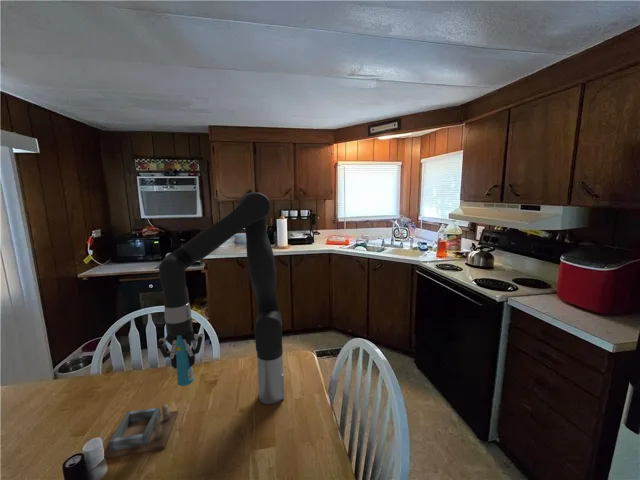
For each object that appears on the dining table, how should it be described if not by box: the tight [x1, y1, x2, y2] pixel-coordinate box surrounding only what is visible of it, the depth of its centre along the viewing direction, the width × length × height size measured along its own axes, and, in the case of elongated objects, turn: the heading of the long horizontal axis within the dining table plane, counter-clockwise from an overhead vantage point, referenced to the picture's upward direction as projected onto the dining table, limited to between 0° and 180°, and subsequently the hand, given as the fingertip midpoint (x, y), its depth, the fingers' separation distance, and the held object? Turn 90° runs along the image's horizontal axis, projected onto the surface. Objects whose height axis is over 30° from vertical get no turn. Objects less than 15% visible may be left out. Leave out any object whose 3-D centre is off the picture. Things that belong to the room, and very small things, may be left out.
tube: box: [176, 335, 195, 387], centre depth 95 cm, size 7×5×19 cm, turn 23°
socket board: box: [104, 403, 179, 459], centre depth 92 cm, size 16×14×6 cm
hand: (183, 365), depth 95 cm, fingers closed on tube, 4 cm apart
